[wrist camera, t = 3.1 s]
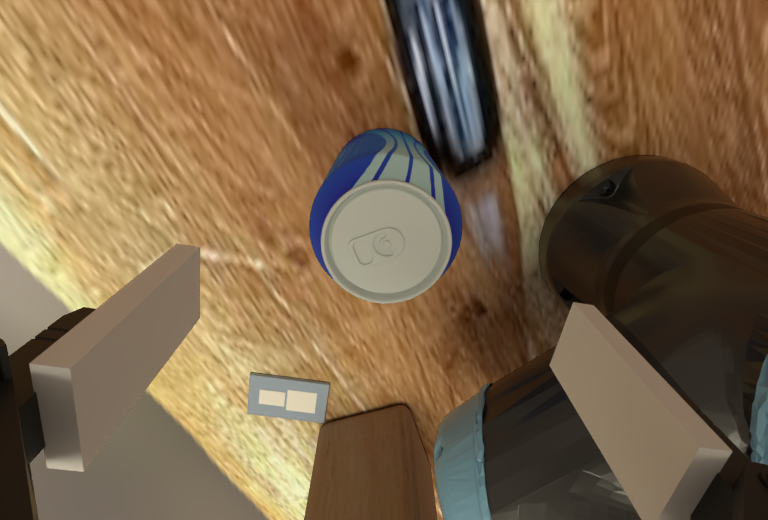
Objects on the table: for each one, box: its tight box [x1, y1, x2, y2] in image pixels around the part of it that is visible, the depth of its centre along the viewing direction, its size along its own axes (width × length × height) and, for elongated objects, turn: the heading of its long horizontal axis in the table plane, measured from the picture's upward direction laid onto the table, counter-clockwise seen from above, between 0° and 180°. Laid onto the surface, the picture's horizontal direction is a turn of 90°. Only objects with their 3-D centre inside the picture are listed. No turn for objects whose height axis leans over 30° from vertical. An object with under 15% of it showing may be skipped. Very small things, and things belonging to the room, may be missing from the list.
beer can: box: [309, 129, 462, 303], centre depth 29 cm, size 8×8×16 cm
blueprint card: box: [247, 372, 330, 423], centre depth 45 cm, size 8×5×1 cm, turn 81°
